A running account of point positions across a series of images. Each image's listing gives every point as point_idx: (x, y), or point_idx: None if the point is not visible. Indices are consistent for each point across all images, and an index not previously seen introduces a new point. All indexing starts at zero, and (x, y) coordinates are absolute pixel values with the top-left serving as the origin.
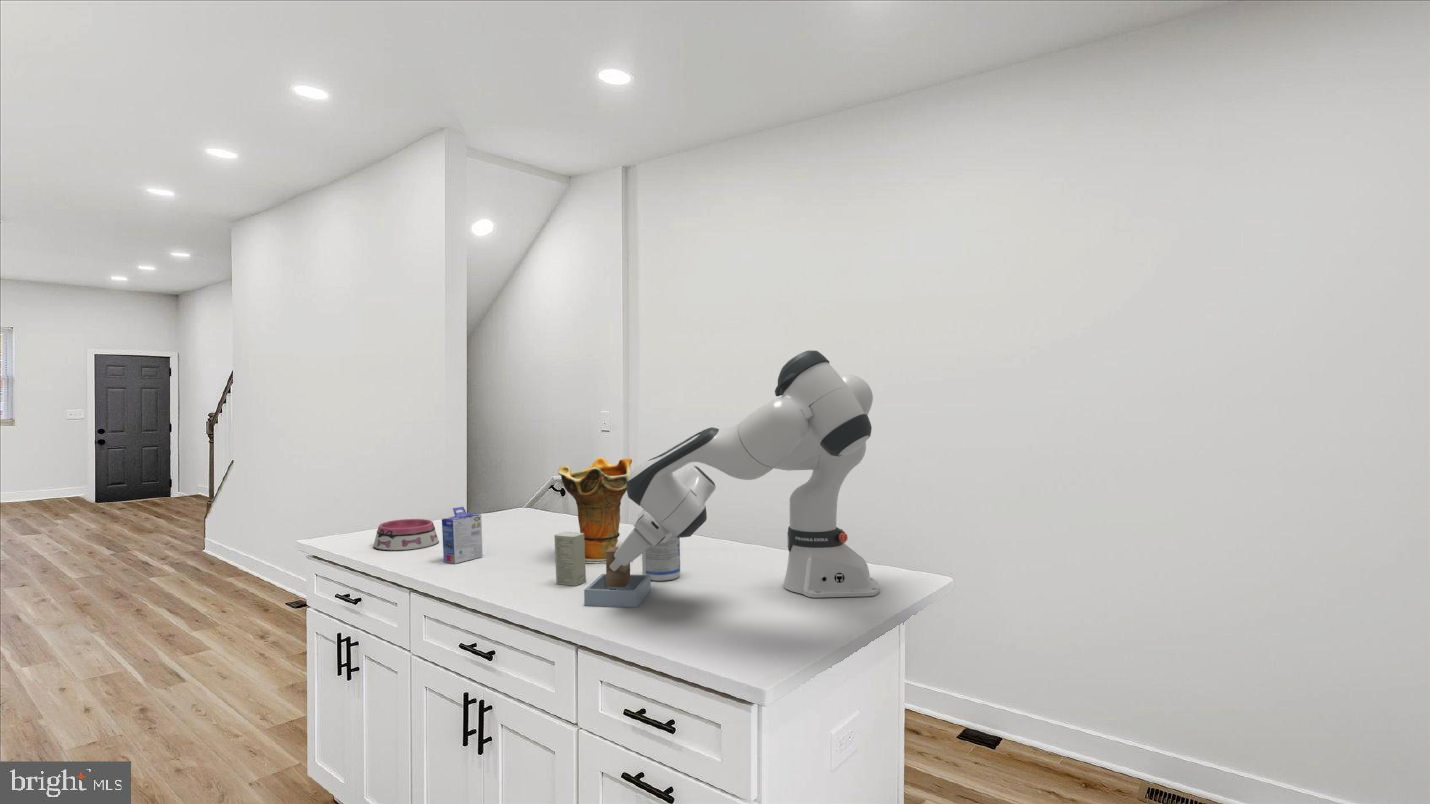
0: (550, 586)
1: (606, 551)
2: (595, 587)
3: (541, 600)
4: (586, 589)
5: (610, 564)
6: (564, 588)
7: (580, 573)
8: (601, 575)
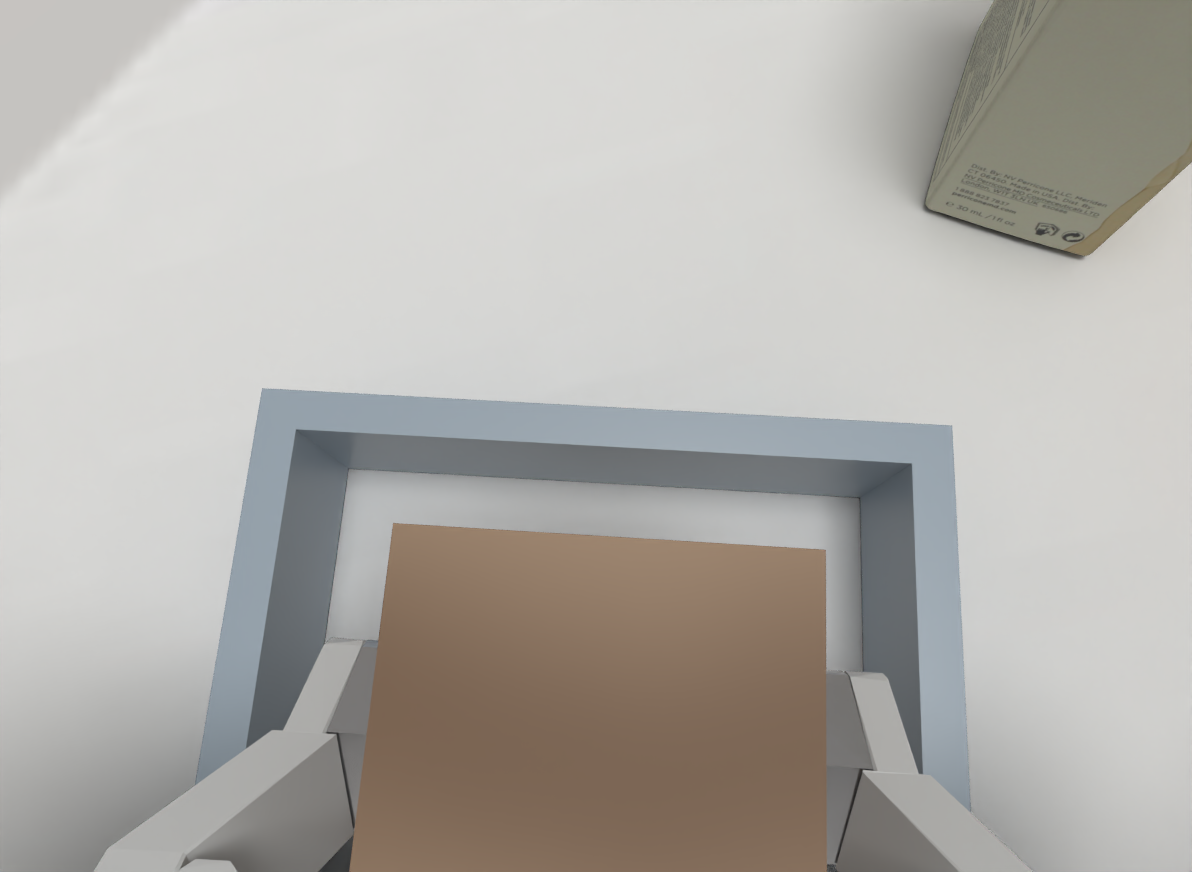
0: (889, 6)
1: (404, 531)
2: (547, 456)
3: (476, 52)
4: (275, 409)
5: (321, 657)
6: (843, 130)
7: (1042, 173)
8: (870, 438)
